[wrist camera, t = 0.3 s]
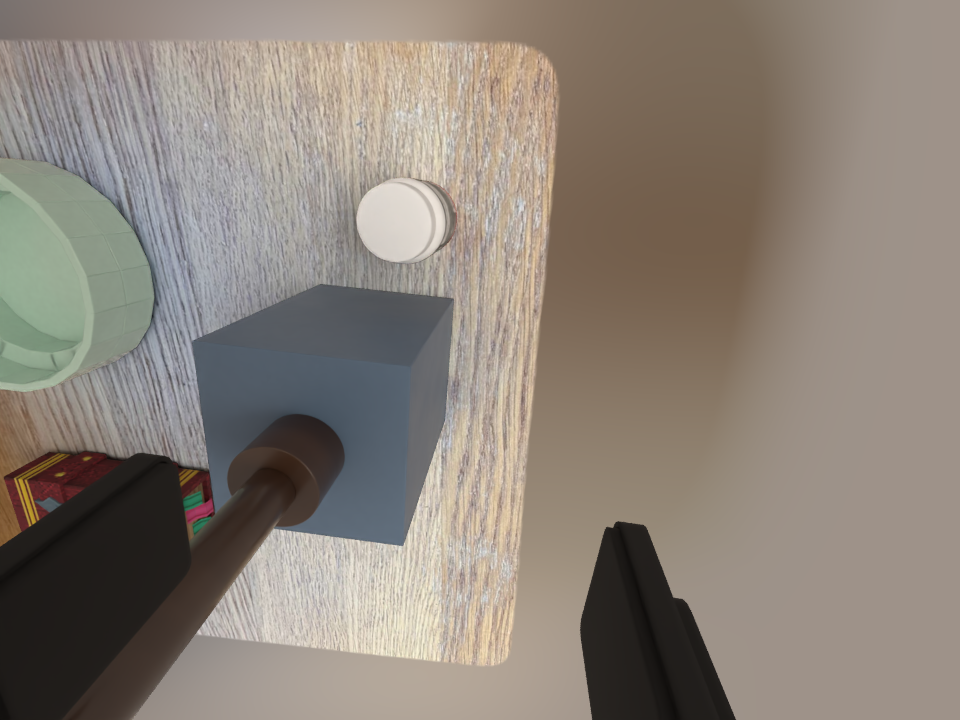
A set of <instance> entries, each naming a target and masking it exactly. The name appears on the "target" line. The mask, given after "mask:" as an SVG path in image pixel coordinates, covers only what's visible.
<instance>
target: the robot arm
mask: <svg viewBox="0 0 960 720" xmlns="http://www.w3.org/2000/svg"><path fill="white" fill-rule="evenodd" d="M191 561H192V557H191V551H190V544H189V538H188V531H187V525H186V518H185V511H184V505H183V498H182V492H181V485H180V479H179V472H178V468H177V467H176V465H173V463H172V460H171V459H170V458H169V457H166V456H160V455H153V454H146V453H137V454H135V455H133V456H131V457H130V458H129V459H127V460H126V461H124V462H123V463H121V464H120V465H118V466H117V467H115V468H114V469H113V470H111V471H110V472H108V473H107V474H105V475H104V476H102V477H101V478H99V479H98V480H97V481H95V482H94V483H92V484H91V485H89V486H88V487H86V488H85V489H83V490H82V491H81V492H79V493H78V494H76V495H75V496H73V497H72V498H70V499H69V500H67V501H66V502H65V503H63V504H62V505H60V506H59V507H57V508H56V509H54V510H53V511H51V512H50V513H49V514H47V515H46V516H44V517H43V518H41V519H40V520H38V521H37V522H35V523H34V524H33V525H31V526H30V527H28V528H27V529H25V530H24V531H22V532H21V533H19V534H18V535H17V536H15V537H14V538H12V539H11V540H9V541H8V542H6V543H5V544H3V545H2V546H1V547H0V720H62V719H63V718H64V717H65V716H66V714H67V713H68V712H69V711H70V710H71V709H72V707H73V706H74V705H75V704H76V703H77V702H78V700H79V699H80V698H81V697H82V696H83V695H84V693H85V692H86V691H87V690H88V689H89V688H90V687H91V685H92V684H93V683H94V682H95V681H96V680H97V678H98V677H99V676H100V675H101V674H102V673H103V671H104V670H105V669H106V668H107V667H108V666H109V664H110V663H111V662H112V661H113V660H114V659H115V658H116V656H117V655H118V654H119V653H120V652H121V651H122V649H123V648H124V647H125V646H126V645H127V644H128V642H129V641H130V640H131V639H132V638H133V637H134V635H135V634H136V633H137V632H138V631H139V630H140V629H141V627H142V626H143V625H144V624H145V623H146V622H147V620H148V619H149V618H150V617H151V616H152V615H153V613H154V612H155V611H156V610H157V609H158V608H159V606H160V605H161V604H162V603H163V602H164V601H165V600H166V598H167V597H168V596H169V595H170V594H171V593H172V591H173V590H174V589H175V588H176V587H177V586H178V584H179V583H180V582H181V581H182V580H183V579H184V577H185V576H186V575H187V573H188V571H189V569H190V566H191ZM580 628H581V629H580V631H581V632H580V633H581V643H582V650H583V657H584V663H585V671H586V678H587V685H588V692H589V699H590V707H591V714H592V720H736V719H735V716H734V714H733V712H732V709H731V707H730V704H729V702H728V699H727V697H726V695H725V692H724V690H723V687H722V685H721V682H720V680H719V678H718V675H717V673H716V670H715V668H714V666H713V663H712V661H711V658H710V656H709V653H708V651H707V649H706V646H705V644H704V641H703V639H702V636H701V634H700V631H699V629H698V627H697V624H696V622H695V619H694V617H693V614H692V612H691V610H690V608H689V606H688V604H687V603H686V602H685V601H684V600H683V599H678V598H673V596H672V593H671V591H670V588H669V585H668V583H667V580H666V577H665V575H664V572H663V570H662V567H661V564H660V562H659V559H658V556H657V554H656V551H655V549H654V546H653V543H652V541H651V538H650V535H649V533H648V530H647V528H646V527H645V526H644V525H640V524H632V523H626V522H619V521H618V522H616V523H615V524H614V527H613V528H610V527H606V529H605V531H604V535H603V538H602V543H601V546H600V550H599V554H598V557H597V561H596V565H595V569H594V573H593V576H592V580H591V584H590V587H589V591H588V595H587V599H586V603H585V606H584V610H583V614H582V618H581V627H580Z"/></svg>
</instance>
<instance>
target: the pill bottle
mask: <svg viewBox="0 0 960 720" xmlns="http://www.w3.org/2000/svg"><path fill="white" fill-rule="evenodd" d="M356 223H357V229H358V233H359V236H360V238H361V240H362V242H363V244H364V245H365V246H366V248H367V249H368V250H369V251H370V252H371V253H373V254H374V255H375V256H377V257H378V258H380V259H382V260H385V261H388V262H396V263H401V264H413V263H417V262H420V261H422V260H424V259H426V258H428V257H429V256H431V255H432V254H434V253H435V252H436V251H438V250H440V249H441V248H443V247H444V246H445V245H446V244H447V243H448V242H449V241H450V239H451V238H452V236H453V234H454V232H455V229H456V225H457V211H456V207H455V204H454V202H453V200H452V198H451V197H450V195H449V194H448V193H447V192H446V191H445V190H444V189H443V188H442V187H440V186H439V185H437V184H435V183H433V182H429V181H422V180H417V179H412V178H406V177H398V178H393V179H389V180H387V181H384V182H383V183H381V184H380V185H377V186H375V187H373V188H372V189H371V190H369V191H368V192H367V193H366V194H365V195H364V197H363V198H362V200H361V202H360V204H359V207H358V210H357V218H356Z"/></svg>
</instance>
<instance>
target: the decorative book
mask: <svg viewBox="0 0 960 720" xmlns="http://www.w3.org/2000/svg"><path fill="white" fill-rule="evenodd" d="M123 462H124V461H117V460H109V459H107V457H106V454H100V453H92V452H82V453H80V454H79V455H69V454H61V453H53V452H48V453H47V454H45V455H43V456H41V457H39V458H37V459H36V460H34V461H32V462H30V463H28V464H26V465H25V466H23V467H21V468H19V469H17V470H15V471H14V472H12V473H10V474H8V475H6V476H4V480H5V483H6V486H7V489H8V492H9V495H10V498H11V501H12V504H13V507H14V510H15V513H16V516H17V519H18V522H19V525H20V528H21V531H24V530H25V529H27V528H28V527H30V526H31V525H33V524H34V523H35V522H37V521H38V520H40V519H41V518H43V517H44V516H46V515H47V514H49V513H50V512H51V511H53V510H54V509H56V508H57V507H59V506H60V505H62V504H63V503H65V502H66V501H67V500H69V499H70V498H72V497H73V496H75V495H76V494H78V493H79V492H81V491H82V490H83V489H85V488H86V487H88V486H89V485H91V484H92V483H94V482H95V481H97V480H98V479H99V478H101V477H102V476H104V475H105V474H107V473H108V472H110V471H111V470H113V469H114V468H115V467H117V466H118V465H120V464H121V463H123ZM173 465H176V467H177V468H178V464H177V463H173ZM178 472H179V479H180V485H181V492H182V498H183V505H184V511H185V518H186V525H187V531H188V538H189V541H190V540H191V539H192V538H193V537H194V536H195V534H196V533H197V532H198V531H199V530H200V529H201V528H202V527H203V526H204V525H205V524H206V523H207V522H208V521H209V520H210V519H211V518H212V517H213V516H214V515H215V513H214V506H213V499H212V492H211V485H210V478H209V472H205V471H197V470H189V469H181V468H178Z"/></svg>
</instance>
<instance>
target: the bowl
mask: <svg viewBox="0 0 960 720" xmlns="http://www.w3.org/2000/svg"><path fill="white" fill-rule="evenodd" d="M153 304H154V289H153V283H152V277H151V271H150V265H149V262H148V260H147V258H146V256H145V254H144V251H143V249H142V247H141V245H140V243H139V240H138V238H137V236H136V234H135V232H134V230H133V229H132V228H131V226H130V225H129V224H128V223H127V221H126V220H125V219H124V218H123V216H122V215H121V214H120V212H119V211H118V210H117V209H116V207H115V206H114V205H113V204H112V202H111V201H109V200H108V199H107V198H106V197H105V196H103V195H102V194H101V193H99V192H98V191H97V190H96V189H94V188H93V187H92V186H91V185H89V184H88V183H87V182H86V181H84V180H83V179H82V178H80V177H79V176H77V175H75V174H73V173H70V172H68V171H66V170H64V169H61V168H59V167H57V166H54V165H52V164H50V163H47V162H44V161H34V160H25V159H15V158H2V157H0V389H4V390H12V391H20V392H30V391H35V390H40V389H44V388H49V387H54V386H57V385H59V384H62V383H64V382H66V381H69V380H71V379H74V378H76V377H79V376H81V375H84V374H86V373H88V372H91V371H93V370H96V369H98V368H101V367H103V366H106V365H108V364H110V363H113V362H115V361H117V360H119V359H120V358H122V357H123V356H125V355H126V354H128V353H129V352H130V351H132V350H133V349H135V348H136V347H137V346H138V344H139V343H140V341H141V340H142V338H143V336H144V335H145V333H146V331H147V330H148V328H149V326H150V323H151V317H152V311H153Z"/></svg>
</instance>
